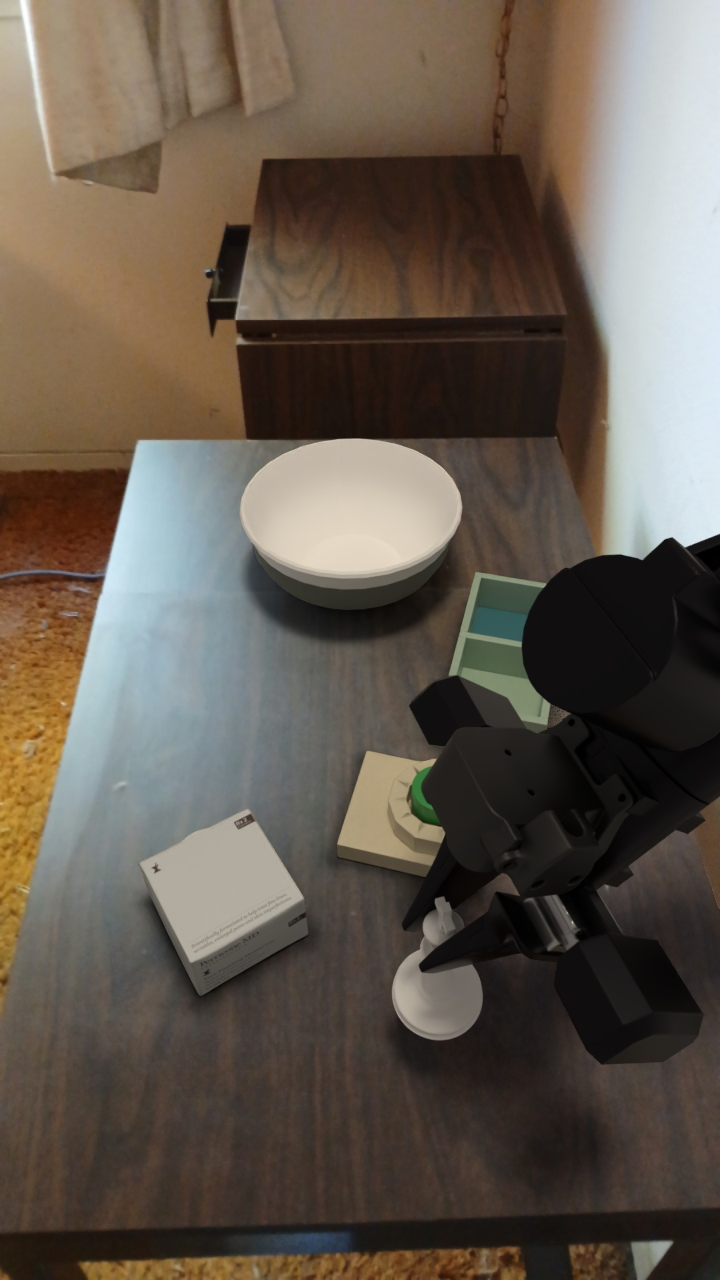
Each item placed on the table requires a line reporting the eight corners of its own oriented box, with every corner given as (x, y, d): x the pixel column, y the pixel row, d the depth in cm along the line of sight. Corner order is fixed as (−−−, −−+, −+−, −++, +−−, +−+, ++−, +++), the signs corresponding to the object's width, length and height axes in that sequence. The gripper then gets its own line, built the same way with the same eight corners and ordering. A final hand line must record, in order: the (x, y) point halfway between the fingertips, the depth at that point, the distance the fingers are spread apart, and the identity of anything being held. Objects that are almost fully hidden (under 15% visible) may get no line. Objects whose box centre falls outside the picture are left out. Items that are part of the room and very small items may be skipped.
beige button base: (490, 790, 64) (495, 761, 62) (471, 888, 59) (475, 861, 56) (366, 763, 66) (366, 735, 63) (337, 857, 61) (335, 829, 58)
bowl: (254, 659, 73) (243, 586, 67) (245, 518, 86) (235, 446, 80) (476, 636, 75) (485, 563, 69) (435, 501, 88) (439, 429, 82)
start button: (468, 785, 61) (470, 771, 59) (459, 830, 58) (461, 815, 57) (417, 775, 61) (418, 760, 60) (405, 818, 59) (406, 804, 58)
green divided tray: (471, 606, 77) (475, 571, 74) (560, 621, 76) (568, 586, 73) (437, 738, 67) (440, 704, 64) (539, 759, 66) (547, 725, 63)
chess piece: (407, 1051, 46) (410, 971, 39) (381, 963, 50) (380, 873, 42) (495, 1026, 47) (515, 942, 40) (464, 940, 50) (477, 849, 43)
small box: (200, 1001, 54) (187, 965, 50) (150, 899, 59) (134, 860, 55) (311, 936, 57) (307, 897, 53) (255, 844, 61) (248, 803, 58)
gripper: (457, 545, 38) (240, 767, 44) (716, 930, 26) (371, 1169, 32) (588, 625, 46) (388, 806, 52) (837, 953, 34) (540, 1144, 39)
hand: (416, 949), depth 43 cm, fingers closed on chess piece
